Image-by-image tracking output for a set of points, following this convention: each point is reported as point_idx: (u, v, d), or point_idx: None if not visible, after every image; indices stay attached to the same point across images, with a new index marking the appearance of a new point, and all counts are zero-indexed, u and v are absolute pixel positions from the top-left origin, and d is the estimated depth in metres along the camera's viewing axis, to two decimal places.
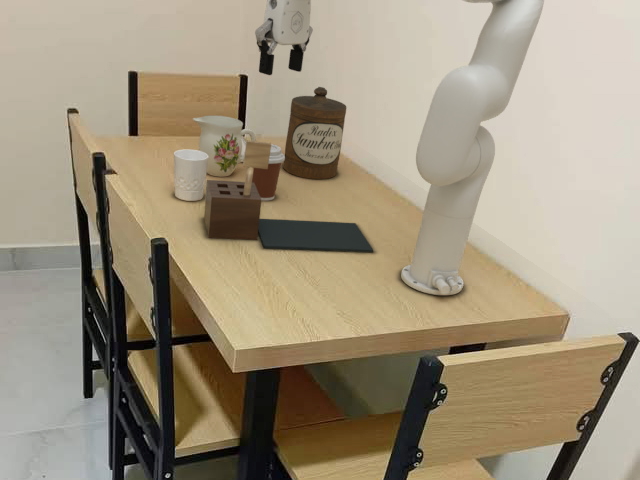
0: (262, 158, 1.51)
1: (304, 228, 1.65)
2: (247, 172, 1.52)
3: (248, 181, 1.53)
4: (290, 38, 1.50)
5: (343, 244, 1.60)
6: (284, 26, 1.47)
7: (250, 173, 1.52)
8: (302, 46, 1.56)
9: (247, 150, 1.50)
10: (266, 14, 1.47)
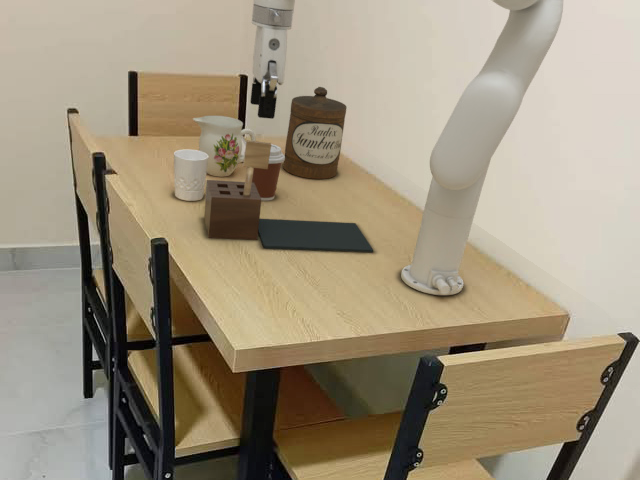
0: (262, 158, 1.51)
1: (304, 228, 1.65)
2: (247, 172, 1.52)
3: (248, 181, 1.53)
4: None
5: (343, 244, 1.60)
6: None
7: (250, 173, 1.52)
8: None
9: (247, 150, 1.50)
10: (266, 56, 1.36)
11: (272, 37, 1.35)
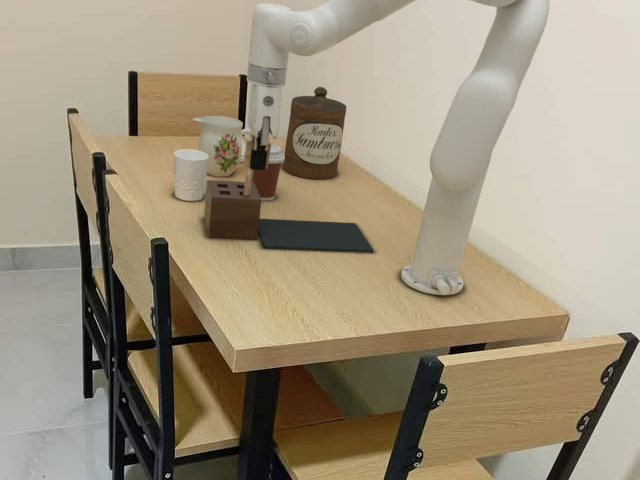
0: None
1: (304, 228, 1.65)
2: (247, 172, 1.52)
3: (248, 181, 1.53)
4: None
5: (343, 244, 1.60)
6: None
7: (250, 173, 1.52)
8: None
9: (247, 150, 1.50)
10: (260, 112, 1.42)
11: (266, 95, 1.40)
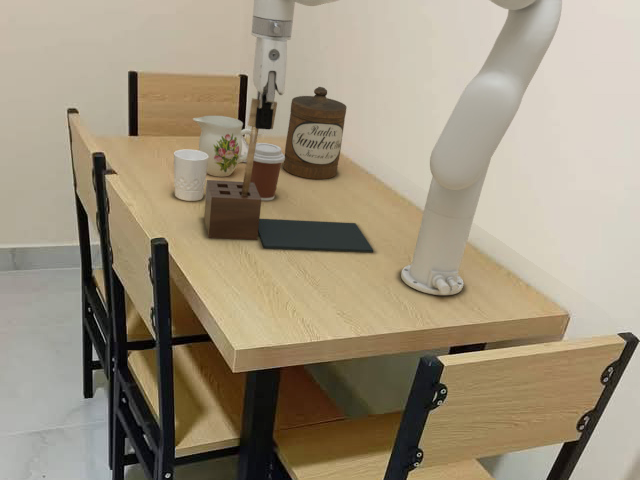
0: None
1: (304, 228, 1.65)
2: (252, 131, 1.48)
3: (253, 141, 1.48)
4: None
5: (343, 244, 1.60)
6: None
7: (255, 133, 1.48)
8: None
9: (252, 108, 1.45)
10: (266, 67, 1.37)
11: (272, 48, 1.36)
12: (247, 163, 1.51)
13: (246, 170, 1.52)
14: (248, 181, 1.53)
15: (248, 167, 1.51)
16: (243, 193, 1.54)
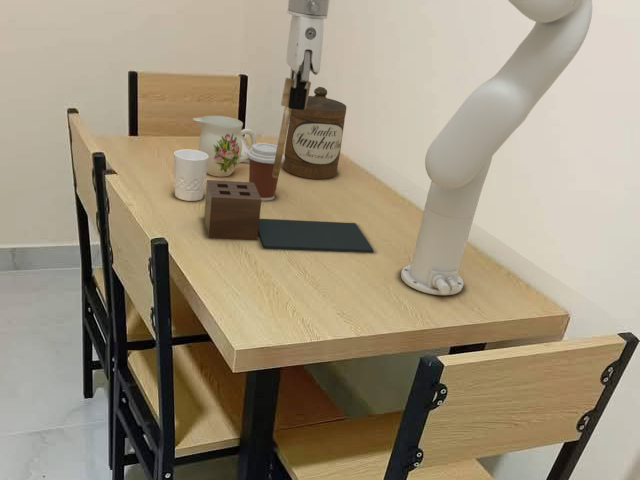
0: None
1: (304, 228, 1.65)
2: (285, 111, 1.47)
3: (285, 121, 1.48)
4: None
5: (343, 244, 1.60)
6: None
7: (288, 113, 1.47)
8: None
9: (286, 88, 1.44)
10: (302, 45, 1.36)
11: (309, 26, 1.35)
12: (279, 143, 1.50)
13: (278, 151, 1.51)
14: (279, 162, 1.52)
15: (280, 147, 1.50)
16: (274, 174, 1.53)
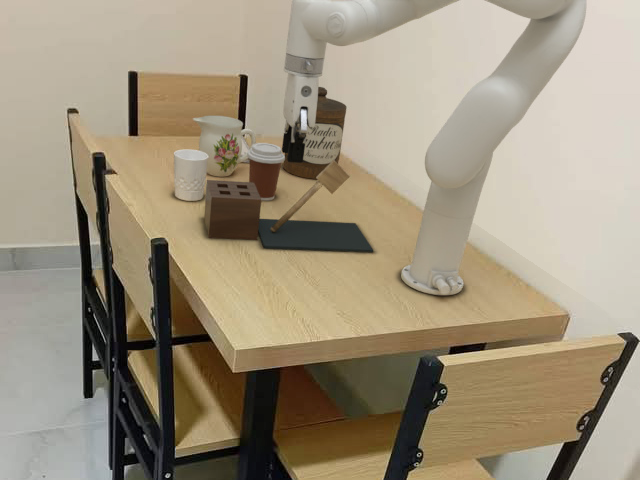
0: (335, 182, 1.57)
1: (304, 228, 1.65)
2: (316, 185, 1.56)
3: (311, 192, 1.57)
4: None
5: (343, 244, 1.60)
6: None
7: (317, 188, 1.56)
8: None
9: (329, 168, 1.55)
10: (298, 102, 1.42)
11: (304, 85, 1.41)
12: (294, 206, 1.58)
13: (289, 211, 1.58)
14: (284, 221, 1.59)
15: (293, 210, 1.58)
16: (274, 228, 1.60)
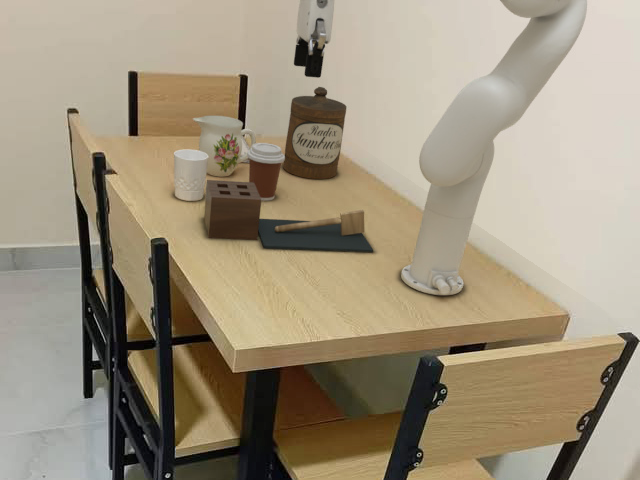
0: (350, 228, 1.63)
1: None
2: (336, 219, 1.62)
3: (328, 222, 1.61)
4: None
5: (343, 244, 1.60)
6: None
7: (336, 222, 1.62)
8: None
9: (356, 213, 1.62)
10: (314, 14, 1.38)
11: None
12: (307, 223, 1.61)
13: (301, 224, 1.61)
14: (291, 229, 1.61)
15: (305, 225, 1.61)
16: (279, 228, 1.60)
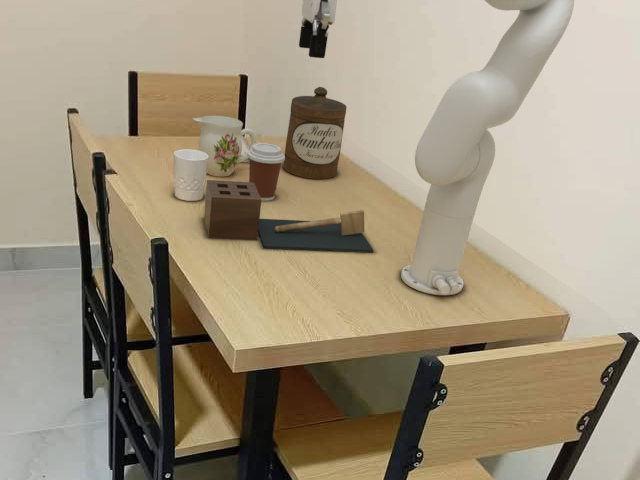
0: (350, 228, 1.63)
1: None
2: (336, 219, 1.62)
3: (328, 222, 1.61)
4: None
5: (343, 244, 1.60)
6: None
7: (336, 222, 1.62)
8: None
9: (356, 213, 1.62)
10: None
11: None
12: (307, 223, 1.61)
13: (301, 224, 1.61)
14: (291, 229, 1.61)
15: (305, 225, 1.61)
16: (279, 228, 1.60)
